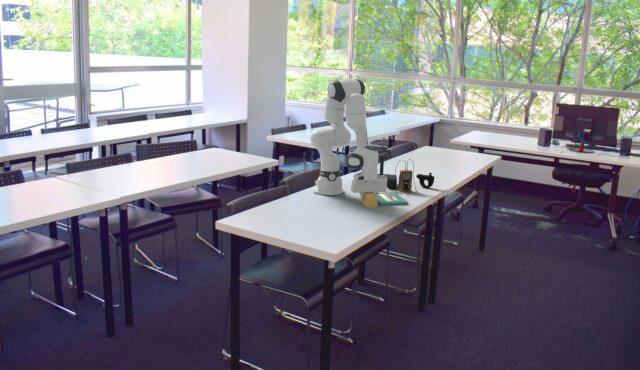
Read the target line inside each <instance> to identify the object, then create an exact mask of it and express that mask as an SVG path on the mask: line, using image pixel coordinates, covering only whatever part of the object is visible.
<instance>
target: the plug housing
mask: <svg viewBox="0 0 640 370" xmlns="http://www.w3.org/2000/svg"><path fill="white" fill-rule="evenodd" d="M362 196H364V197H365V198H364V200H361V197H360V198H359V199H360V202H361V204H362V205H363V206H364V207H366V208H368V209H369V208H372V209H373V208H378V203H377V194H376V193H375V192H365V193H363V194H362Z"/></svg>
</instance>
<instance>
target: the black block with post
mask: <svg viewBox="0 0 640 370" xmlns="http://www.w3.org/2000/svg"><path fill="white" fill-rule="evenodd" d="M378 159H380V160H379V163H380V164H379V173H378V175H381V176H382V175H385V176H386V177H387V188H388V189H390V190H396V189H397V187H398V177H397V174H391V173H390V174H388V173H384V169H385V168H384V166H385V164H384V163H385V159H386V155H384V154H379V156H378Z"/></svg>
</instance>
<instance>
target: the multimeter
mask: <svg viewBox="0 0 640 370" xmlns="http://www.w3.org/2000/svg"><path fill="white" fill-rule="evenodd" d="M409 161H411V162H412V164H413V165H415V163H414V161H413V160H412V159H411V158H410V159H408V160H407V162H406V161H404V162H405V164H404V165H405V166H404V170H403V169H401V170H399V177H398V187H399V188H398V191H399V194H400V195H408V194H409V193H417V188H416V186H414V189H415V191H413V192H412V188H413V185H412V184H414V185H416V184H415V181H413V180H415V178H414V175H413V174H414V173H415V166H413V168H412V170H411V169H408V166H409V165H408V164H409ZM399 162H401V159H400V160H399V161H398V162H397V164H396V165H395V166H396V167H395V168H397V166H398V164H399ZM394 170H395V172H394V174H396V172H397V171H396V170H397V169H394ZM394 192H395V193H397V191H396V189H394ZM403 192H404V193H403ZM405 192H407V193H405Z"/></svg>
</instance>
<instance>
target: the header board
mask: <svg viewBox="0 0 640 370" xmlns="http://www.w3.org/2000/svg"><path fill="white" fill-rule="evenodd" d="M378 204H379V205H380V207H381V206H404V205H406V206H407V205H409V201H408V200H407V199H405V198H403V197H402V196H401V195H399V193H398V192H396V193H395V191H394V192H393V190H391V189H388V188H387V191H386V192H379V194H378V196H377V205H378Z"/></svg>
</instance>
